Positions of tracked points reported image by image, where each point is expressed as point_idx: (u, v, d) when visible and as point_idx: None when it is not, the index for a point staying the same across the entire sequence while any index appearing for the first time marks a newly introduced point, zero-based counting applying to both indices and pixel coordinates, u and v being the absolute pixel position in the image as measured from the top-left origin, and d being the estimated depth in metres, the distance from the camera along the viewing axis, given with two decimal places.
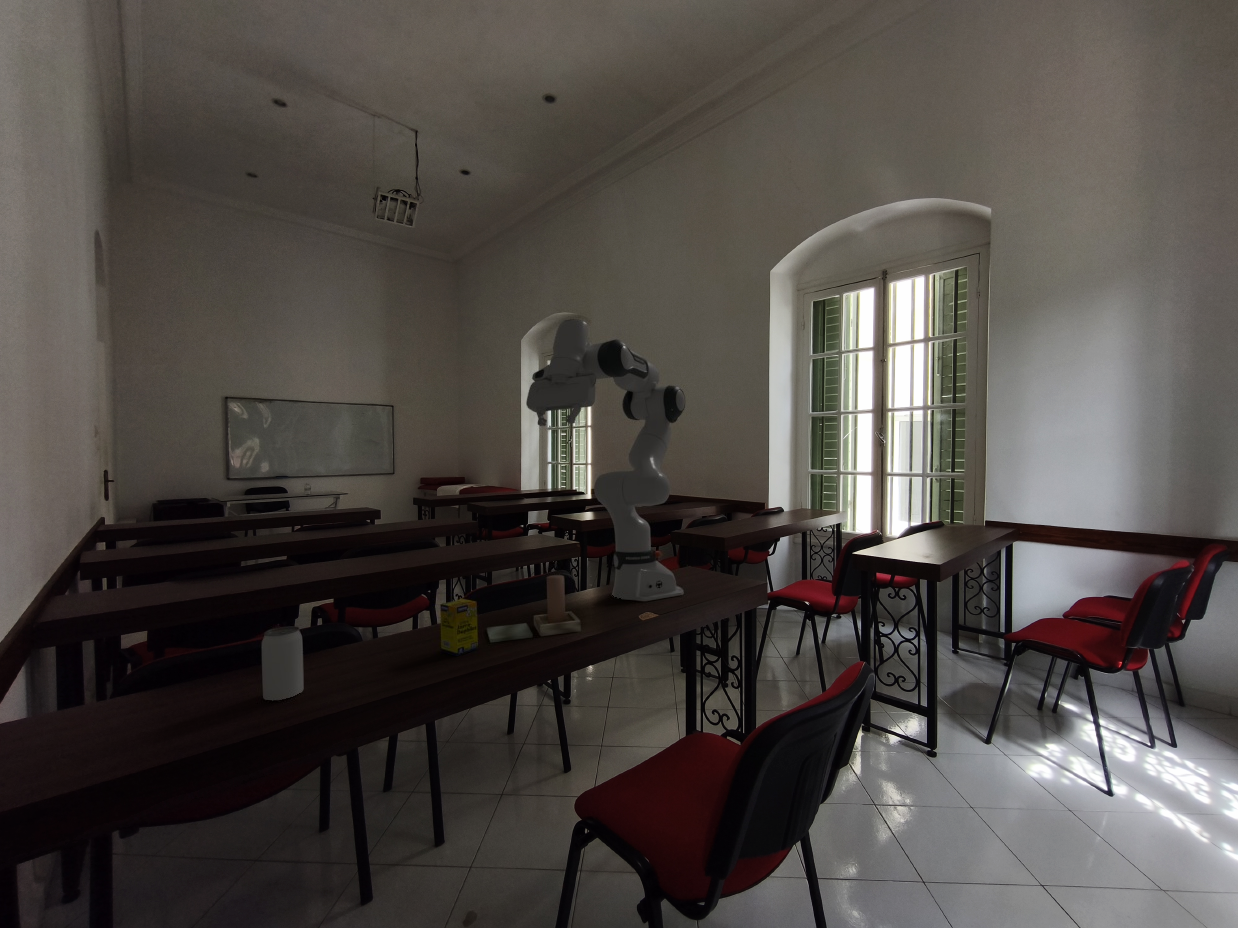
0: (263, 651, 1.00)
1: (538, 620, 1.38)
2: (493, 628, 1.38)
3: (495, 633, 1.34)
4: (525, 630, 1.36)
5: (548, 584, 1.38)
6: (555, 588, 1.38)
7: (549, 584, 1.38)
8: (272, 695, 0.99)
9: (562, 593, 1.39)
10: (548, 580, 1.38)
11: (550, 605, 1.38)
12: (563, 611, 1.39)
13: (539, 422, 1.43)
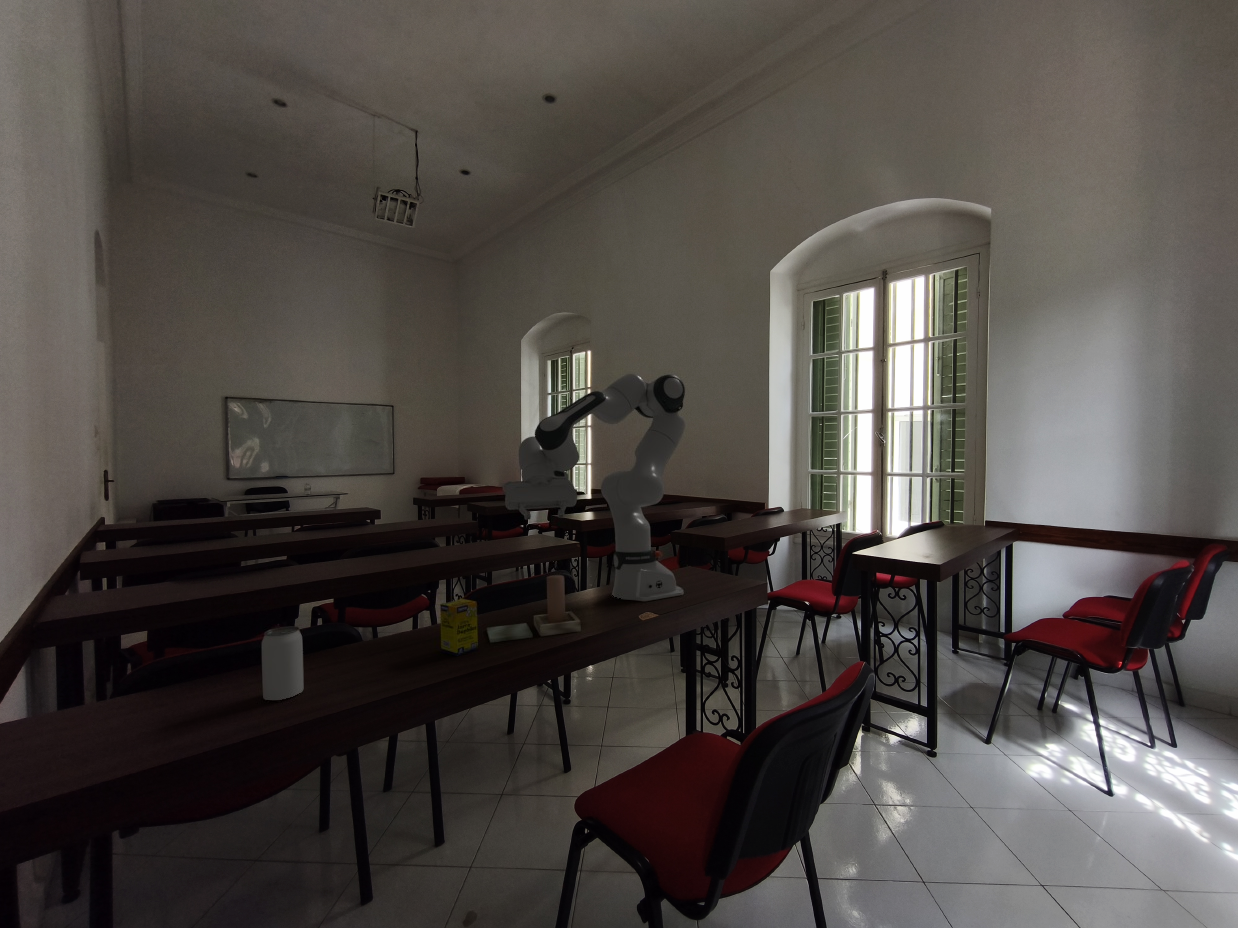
0: (263, 651, 1.00)
1: (538, 620, 1.38)
2: (493, 628, 1.38)
3: (495, 633, 1.34)
4: (525, 630, 1.36)
5: (548, 584, 1.38)
6: (555, 588, 1.38)
7: (549, 584, 1.38)
8: (272, 695, 0.99)
9: (562, 593, 1.39)
10: (548, 580, 1.38)
11: (550, 605, 1.38)
12: (563, 611, 1.39)
13: None
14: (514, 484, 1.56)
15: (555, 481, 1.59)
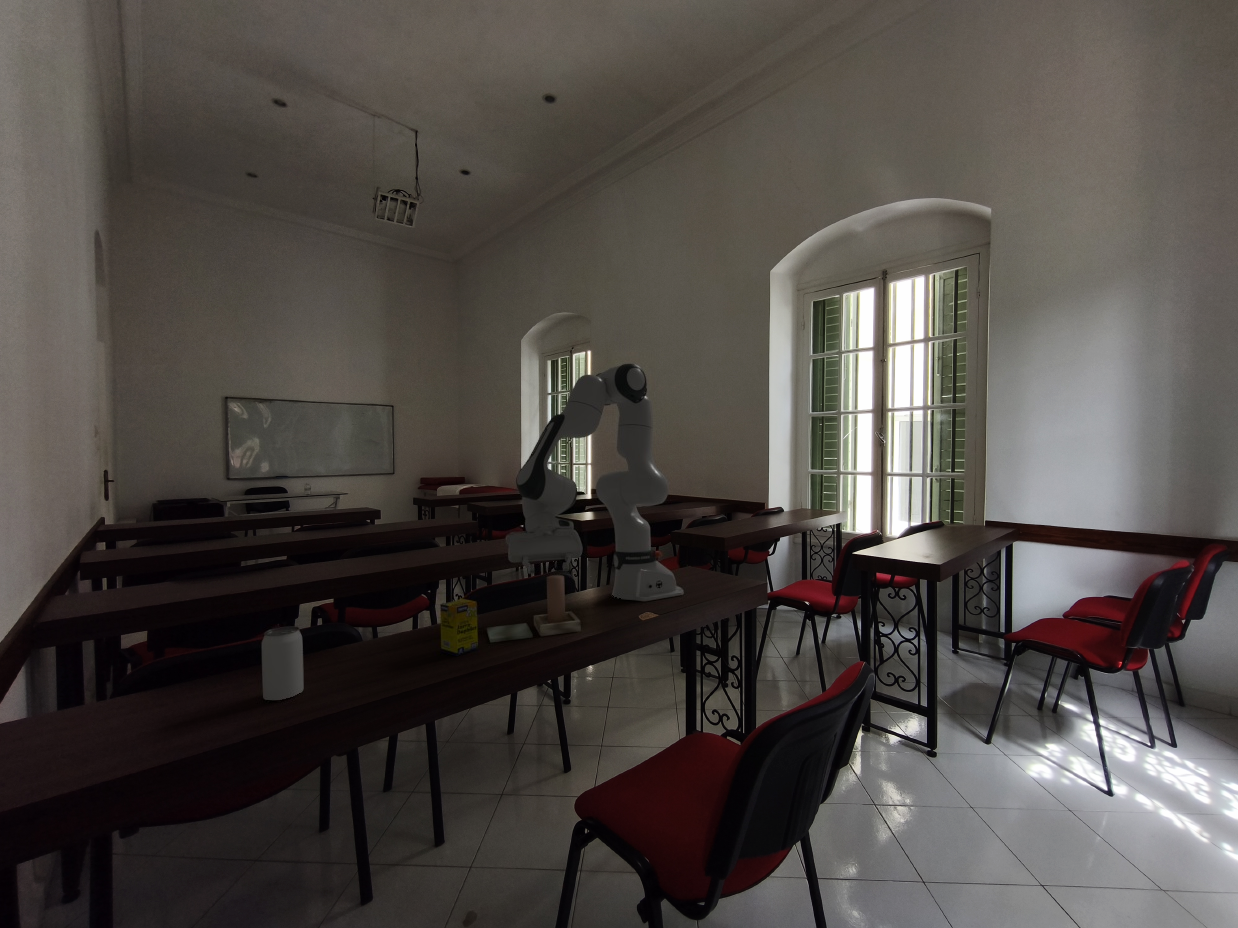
0: (263, 651, 1.00)
1: (538, 620, 1.38)
2: (493, 628, 1.38)
3: (495, 633, 1.34)
4: (525, 630, 1.36)
5: (548, 584, 1.38)
6: (555, 588, 1.38)
7: (549, 584, 1.38)
8: (272, 695, 0.99)
9: (562, 593, 1.39)
10: (548, 580, 1.38)
11: (550, 605, 1.38)
12: (563, 611, 1.39)
13: None
14: (517, 535, 1.50)
15: (560, 532, 1.53)
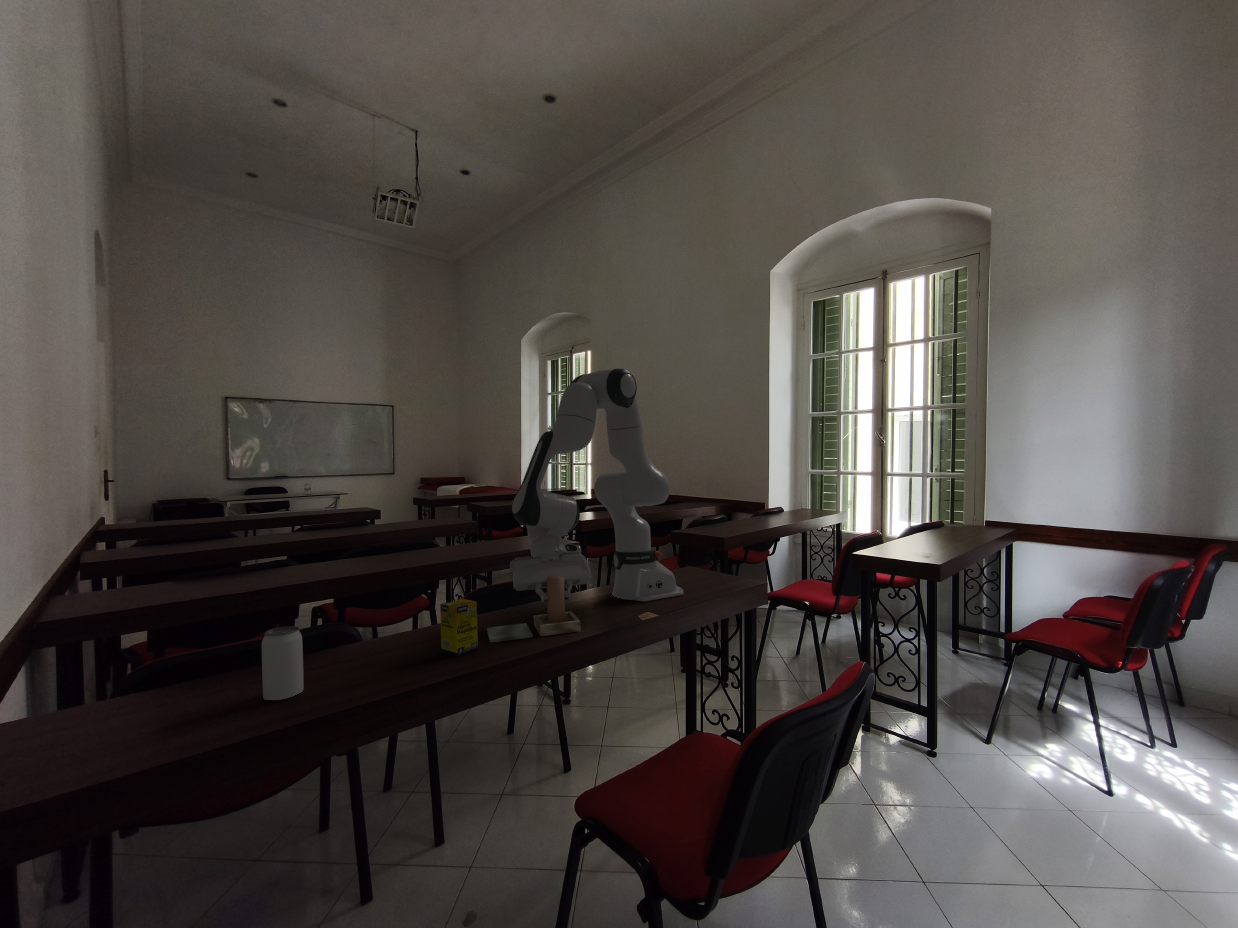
0: (263, 651, 1.00)
1: (538, 620, 1.38)
2: (493, 628, 1.38)
3: (495, 633, 1.34)
4: (525, 630, 1.36)
5: (548, 584, 1.38)
6: (555, 588, 1.38)
7: (549, 584, 1.38)
8: (272, 695, 0.99)
9: (562, 593, 1.39)
10: (548, 580, 1.38)
11: (550, 605, 1.38)
12: (563, 611, 1.39)
13: None
14: (523, 561, 1.43)
15: (567, 557, 1.46)
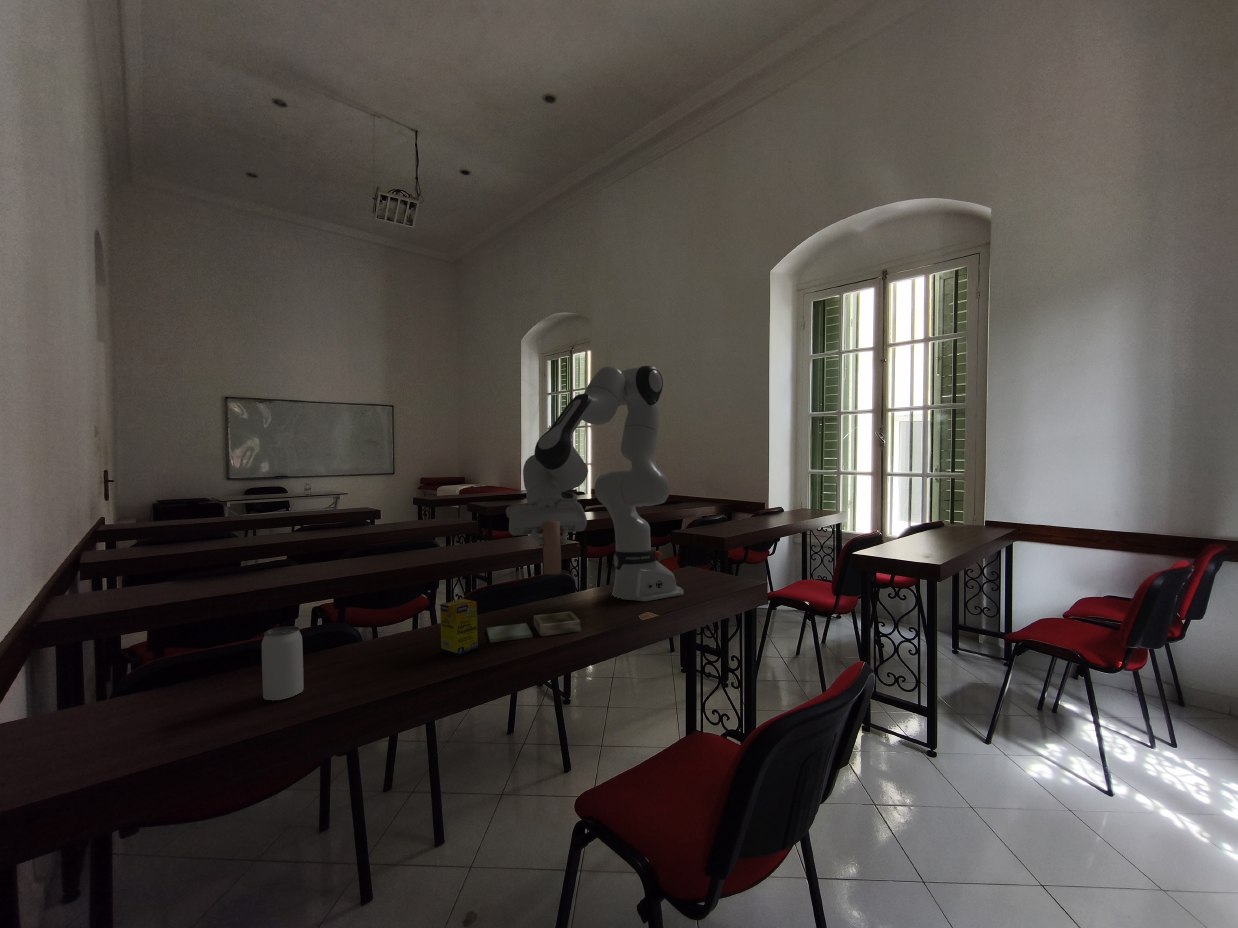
0: (263, 651, 1.00)
1: (538, 620, 1.38)
2: (493, 628, 1.38)
3: (495, 633, 1.34)
4: (525, 630, 1.36)
5: (544, 528, 1.38)
6: (550, 532, 1.37)
7: (545, 528, 1.38)
8: (272, 695, 0.99)
9: (558, 537, 1.38)
10: (544, 524, 1.38)
11: (546, 549, 1.38)
12: (559, 555, 1.39)
13: None
14: (518, 507, 1.43)
15: (563, 504, 1.46)
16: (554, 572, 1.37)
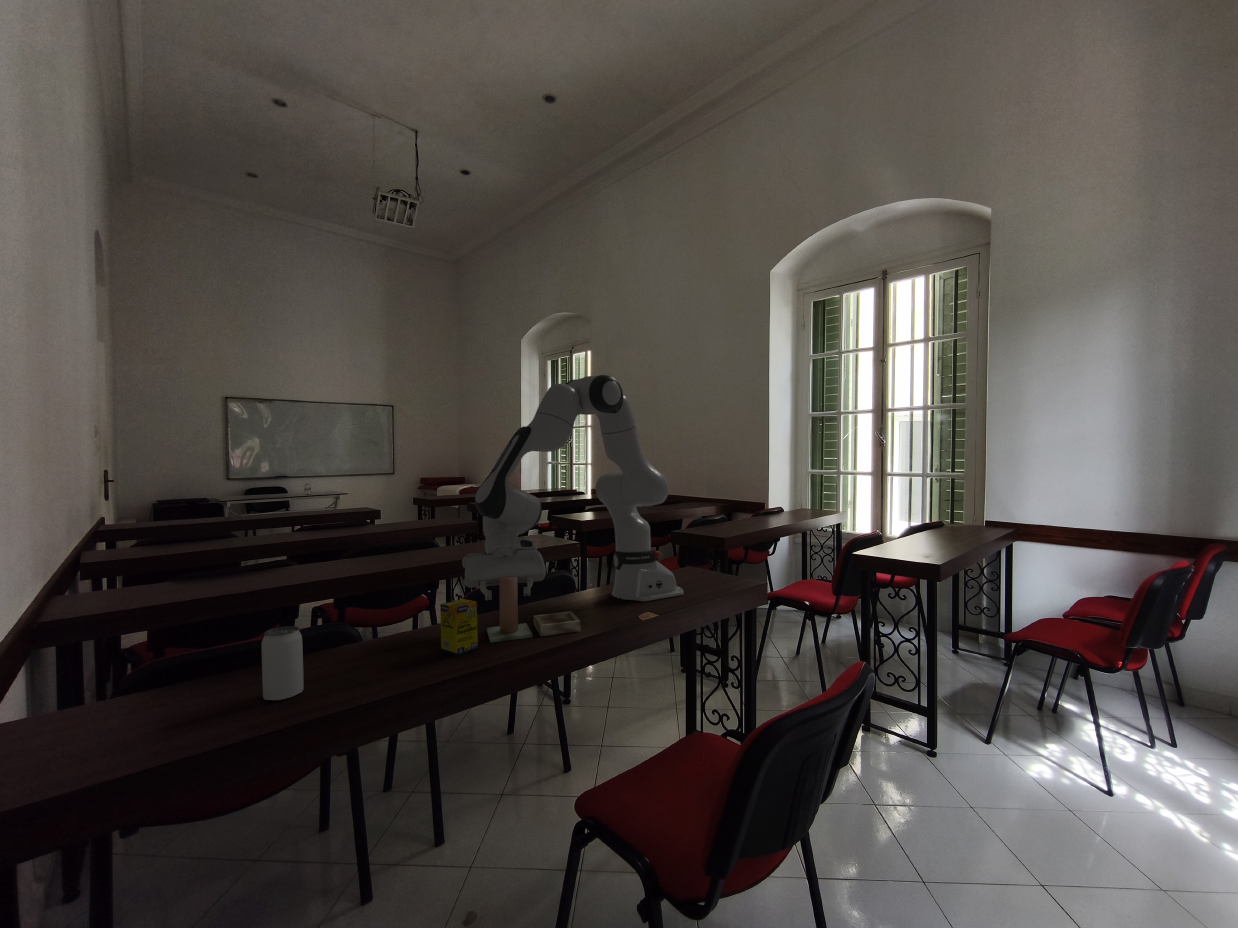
0: (263, 651, 1.00)
1: (538, 620, 1.38)
2: (493, 628, 1.38)
3: (495, 633, 1.34)
4: (525, 630, 1.36)
5: (500, 585, 1.35)
6: (507, 589, 1.34)
7: (501, 585, 1.34)
8: (272, 695, 0.99)
9: (514, 594, 1.35)
10: (500, 581, 1.35)
11: (502, 606, 1.34)
12: (515, 613, 1.35)
13: None
14: (475, 558, 1.40)
15: (521, 553, 1.43)
16: (510, 631, 1.34)
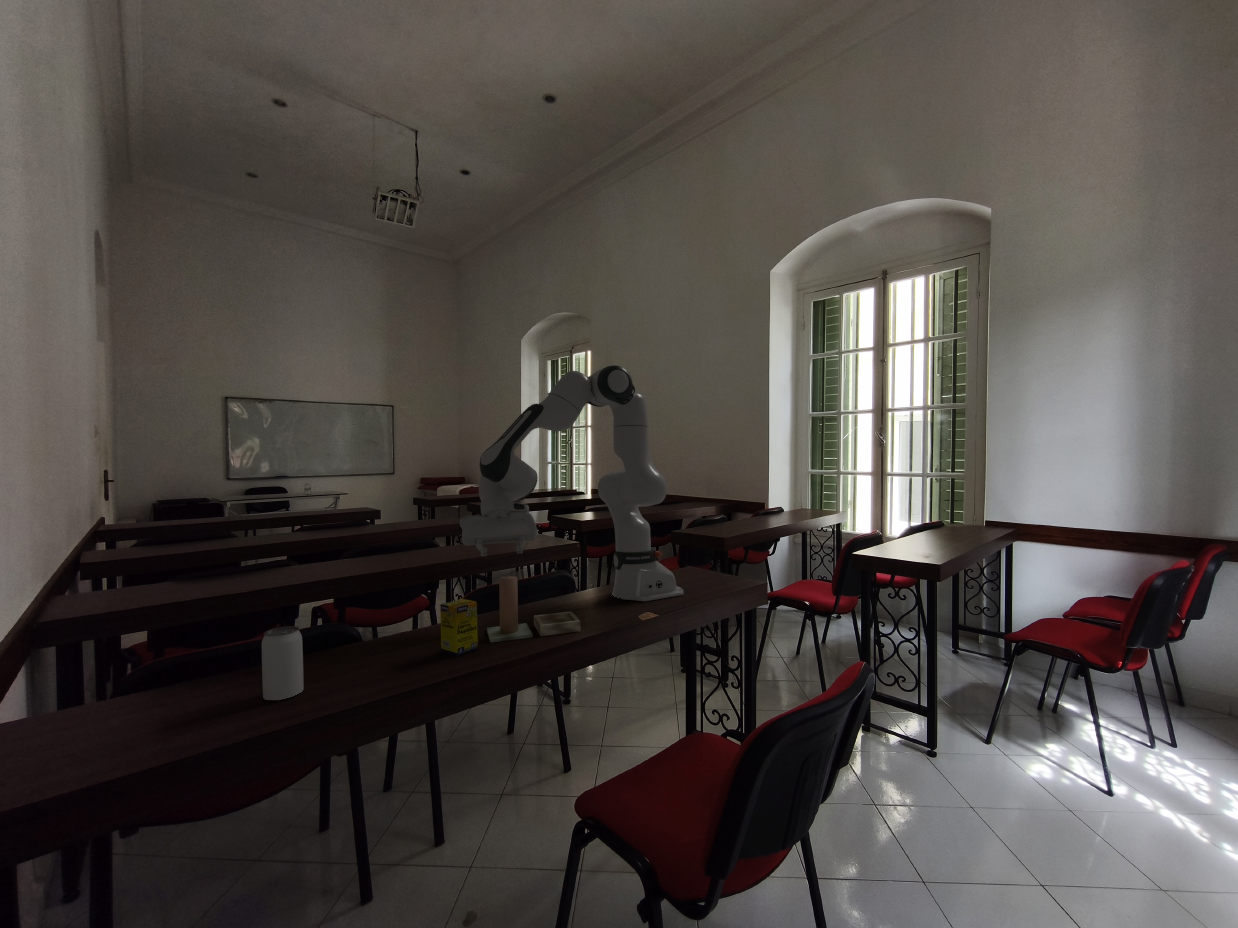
0: (263, 651, 1.00)
1: (538, 620, 1.38)
2: (493, 628, 1.38)
3: (495, 633, 1.34)
4: (525, 630, 1.36)
5: (500, 585, 1.35)
6: (507, 590, 1.34)
7: (501, 586, 1.34)
8: (272, 695, 0.99)
9: (514, 595, 1.35)
10: (500, 581, 1.35)
11: (502, 607, 1.34)
12: (515, 613, 1.35)
13: None
14: (471, 518, 1.51)
15: (514, 515, 1.54)
16: (510, 631, 1.34)
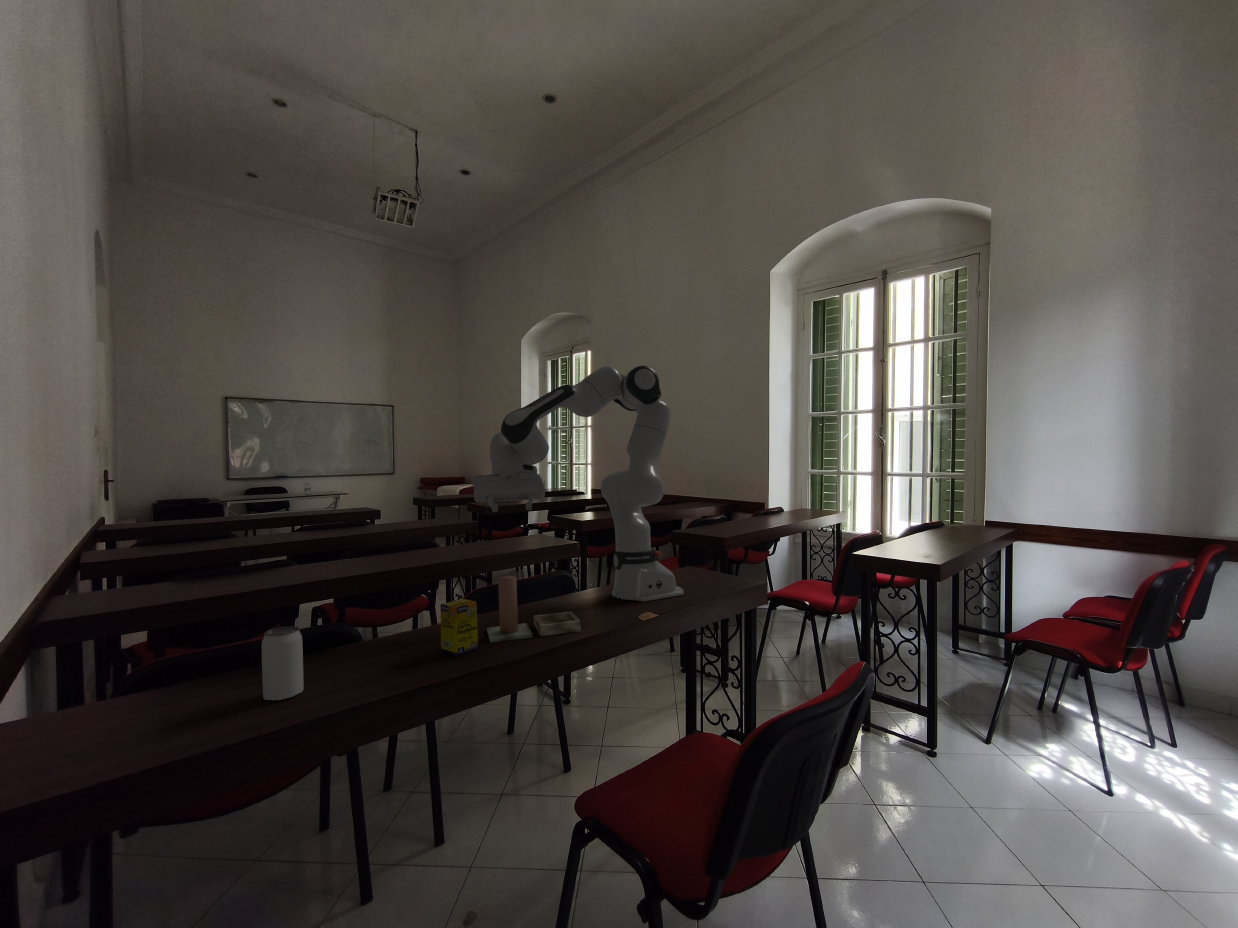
0: (263, 651, 1.00)
1: (538, 620, 1.38)
2: (493, 628, 1.38)
3: (495, 633, 1.34)
4: (525, 630, 1.36)
5: (499, 585, 1.35)
6: (506, 589, 1.34)
7: (500, 585, 1.35)
8: (272, 695, 0.99)
9: (514, 594, 1.35)
10: (499, 581, 1.35)
11: (501, 606, 1.34)
12: (515, 613, 1.35)
13: None
14: (483, 477, 1.59)
15: (524, 475, 1.62)
16: (510, 630, 1.34)
